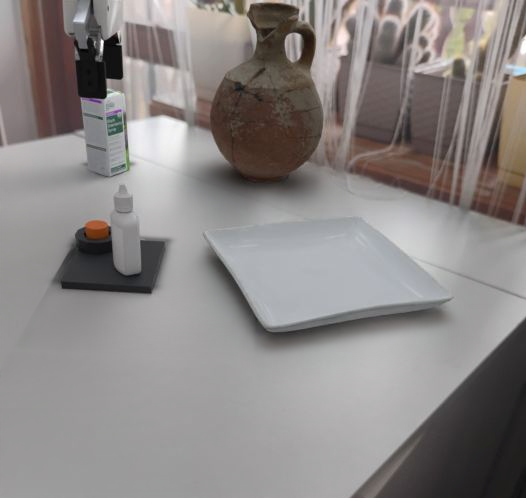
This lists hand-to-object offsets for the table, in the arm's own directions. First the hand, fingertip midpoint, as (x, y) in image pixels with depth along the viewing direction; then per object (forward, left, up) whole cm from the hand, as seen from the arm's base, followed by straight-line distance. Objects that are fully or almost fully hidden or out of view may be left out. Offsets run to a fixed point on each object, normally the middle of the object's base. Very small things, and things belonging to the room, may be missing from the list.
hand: (102, 87), depth 76 cm
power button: (-3, +4, -22) cm, 22 cm away
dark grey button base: (0, 0, -24) cm, 24 cm away
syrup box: (-9, +39, -25) cm, 47 cm away
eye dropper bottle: (+2, -2, -23) cm, 24 cm away
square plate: (+29, -1, -25) cm, 38 cm away
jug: (+21, +43, -25) cm, 54 cm away
